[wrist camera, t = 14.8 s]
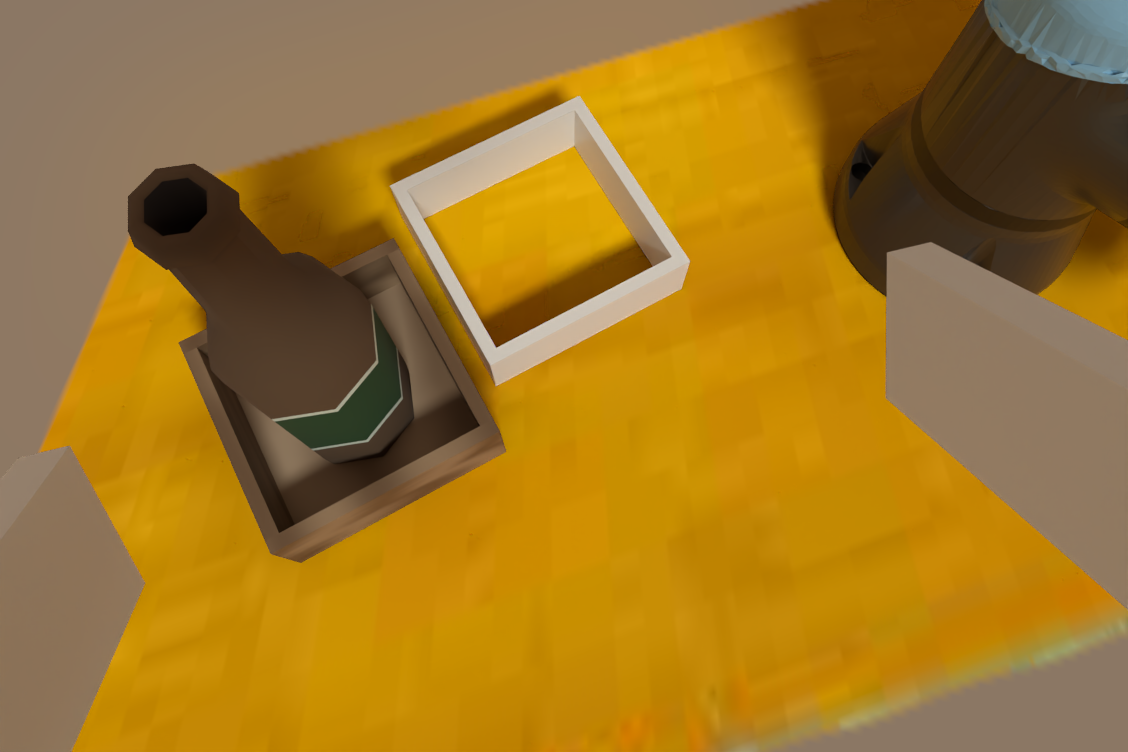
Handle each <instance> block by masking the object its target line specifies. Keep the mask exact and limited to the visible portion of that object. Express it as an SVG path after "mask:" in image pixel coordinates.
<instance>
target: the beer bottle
mask: <svg viewBox="0 0 1128 752" xmlns="http://www.w3.org/2000/svg"><path fill="white" fill-rule="evenodd" d="M128 232H129V234H130V237H131V239H132V242H133V244H134V247H136V248H137V249H138V250H140V251H141V252H143V253H144V254H145V255H147V256H148V257H149V258H151V259H152V260H153V261H155V262H156V263H158V264H159V265H160V266H162V267H163V268H164V269H166V270H167V269H169V270H170V271H171V272H172V273H173V275H174V276H175V277H176V278H177V279H178V280H179V281H180V282H181V284H182V285H183V286H184V287H185V288H186V289H187V290H188V291H189V293H190V294H191V295H192V296H193V297H194V298H195V299H196V301H197V302H198V303H199V304H200V305H201V306H202V307H203V308H204V310H205V311H206V315H207V349H208V357H209V362H210V368H211V371H212V372H213V373H214V374H215V375H216V376H217V377H218V378H219V379H220V380H221V381H222V382H223V383H224V384H225V385H227V386H228V387H229V388H231V389H232V390H233V391H235V392H236V393H237V394H239V395H240V396H241V397H242V398H244V399H245V400H246V401H248V402H249V403H250V404H252V405H253V406H254V407H256V408H257V409H258V410H260V411H261V412H262V413H264V414H265V415H266V416H268V417H269V418H270V419H272V420H273V421H274V422H276V423H277V424H278V425H280V426H281V427H282V428H284V429H285V430H286V431H288V432H289V433H290V434H292V435H293V436H294V437H296V438H297V439H298V440H300V441H301V442H302V443H304V444H305V445H306V446H308V447H309V448H311V449H312V450H313V451H315V452H316V453H317V454H319V455H320V456H321V457H323V458H324V459H325V460H327V461H329V462H331V463H333V464H340V463H346V462H352V461H358V460H365V459H371V458H377V457H383V456H384V455H385V454H386V453H387V452H388V450H389V449H390V448H391V447H392V445H393V444H394V443H395V442H396V440H397V439H398V438H399V437H400V435H401V434H402V433H403V432H404V430H405V429H406V428H407V427H408V425H409V424H410V423H411V422H412V420H413V419H414V410H413V401H412V392H411V383H410V374H409V370H408V368H407V365H406V363H405V361H404V359H403V357H402V356H401V354H400V352H399V351H398V349H397V347H396V345H395V344H394V342H393V340H392V339H391V337H390V335H389V333H388V332H387V330H386V328H385V327H384V325H383V323H382V321H381V320H380V318H379V316H378V315H377V313H376V311H375V310H374V308H373V306H372V304H371V303H370V302H369V300H368V299H367V298H366V297H365V296H364V294H363V293H362V292H361V291H360V290H359V289H358V288H357V287H355V286H354V285H352V284H351V283H349V282H348V281H347V280H345V279H344V278H342V277H341V276H339V275H338V274H336V273H335V272H334V271H332V270H331V269H329V268H328V267H326V266H325V265H324V264H322V263H321V262H319V261H318V260H316V259H315V258H314V257H312V256H309V255H306V254H303V253H300V252H295V253H289V254H281V253H280V252H279V251H278V250H277V249H276V248H275V247H274V246H273V245H272V244H271V242H270V241H269V240H268V239H267V238H266V237H265V236H264V235H263V234H262V233H261V232H260V231H259V229H258V228H257V227H256V226H255V225H254V224H253V223H252V222H251V221H250V220H249V219H248V218H247V216H246V215H245V214H244V213H243V212H242V211H241V210H240V206H239V193H238V192H236V191H235V190H234V189H232V188H231V187H229V186H228V185H226V184H225V183H223V182H222V181H221V180H219V179H218V178H216V177H215V176H213V175H212V174H210V173H209V172H208V171H206V170H204V169H203V168H201V167H199V166H197V165H196V164H188V165H181V166H173V167H166V168H160V169H155V170H154V171H153V172H152V173H151V174H150V175H149V176H148V177H147V178H146V179H145V180H144V181H143V182H142V183H141V184H140V185H139V186H138V187H137V188H136V189H135V190H134V191H133V192H132V193H131V194H130V195H129V196H128Z"/></svg>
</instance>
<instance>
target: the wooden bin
mask: <svg viewBox="0 0 1128 752" xmlns="http://www.w3.org/2000/svg"><path fill="white" fill-rule="evenodd" d="M331 270H332V271H334V272H335V273H336V274H338V275H339V276H341V277H342V278H344V279H345V280H347V281H348V282H349V283H351V284H352V285H354V286H355V287H357V288H358V289H359V290H360V291H361V292H362V293H363V294H364V296H365V297H366V298H367V299H368V300H369V302H370V303H371V304H372V306H373V308H374V310H375V311H376V313H377V315H378V316H379V318H380V320H381V321H382V323H383V325H384V327H385V328H386V330H387V332H388V333H389V335H390V337H391V339H392V340H393V342H394V344H395V345H396V347H397V349H398V351H399V352H400V354H401V356H402V357H403V359H404V361H405V363H406V365H407V368H408V370H409V374H410V383H411V392H412V401H413V410H414V419H413V420H412V422H411V423H410V424H409V425H408V427H407V428H406V429H405V430H404V432H403V433H402V434H401V435H400V437H399V438H398V439H397V440H396V442H395V443H394V444H393V445H392V447H391V448H390V449H389V450H388V452H387V453H386V454H385V455H384V456H383V457H377V458H371V459H365V460H358V461H352V462H346V463H340V464H333V463H331V462H329V461H327V460H325V459H324V458H323V457H321V456H320V455H319V454H317V453H316V452H315V451H313V450H312V449H311V448H309V447H308V446H306V445H305V444H304V443H302V442H301V441H300V440H298V439H297V438H296V437H294V436H293V435H292V434H290V433H289V432H288V431H286V430H285V429H284V428H282V427H281V426H280V425H278V424H277V423H276V422H274V421H273V420H272V419H270V418H269V417H268V416H266V415H265V414H264V413H262V412H261V411H260V410H258V409H257V408H256V407H254V406H253V405H252V404H250V403H249V402H248V401H246V400H245V399H244V398H242V397H241V396H240V395H239V394H237V393H236V392H235V391H233V390H232V389H231V388H229V387H228V386H227V385H225V384H224V383H223V382H222V381H221V380H220V379H219V378H218V377H217V376H216V375H215V374H214V373H213V372H212V371H211V368H210V362H209V357H208V349H207V329H205V330H203V331H201V332H199V333H197V334H195V335H193V336H191V337H189V338H187V339H185V340H183V341H181V342H179V345H180V347H181V349H182V351H183V354H184V356H185V358H186V361H187V363H188V365H189V367H190V370H191V372H192V374H193V377H194V379H195V381H196V383H197V386H198V388H199V390H200V393H201V395H202V397H203V400H204V402H205V404H206V406H207V409H208V411H209V413H210V416H211V418H212V420H213V422H214V425H215V427H216V429H217V432H218V434H219V436H220V439H221V441H222V443H223V445H224V448H225V450H226V452H227V455H228V457H229V459H230V461H231V464H232V466H233V468H234V471H235V473H236V475H237V477H238V480H239V482H240V484H241V487H242V489H243V491H244V494H245V496H246V498H247V500H248V503H249V505H250V507H251V510H252V512H253V514H254V516H255V519H256V521H257V523H258V526H259V528H260V530H261V533H262V535H263V537H264V539H265V542H266V544H267V546H268V549H269V551H270V553H271V554H272V555H276V556H279V557H283V558H286V559H290V560H293V561H297V562H300V563H301V562H303V561H305V560H307V559H308V558H310V557H312V556H314V555H316V554H318V553H320V552H321V551H323V550H325V549H327V548H329V547H331V546H332V545H334V544H336V543H338V542H340V541H342V540H344V539H345V538H347V537H349V536H351V535H353V534H355V533H357V532H358V531H360V530H362V529H364V528H366V527H368V526H369V525H371V524H373V523H375V522H377V521H379V520H381V519H382V518H384V517H386V516H388V515H390V514H392V513H394V512H395V511H397V510H399V509H401V508H403V507H405V506H406V505H408V504H410V503H412V502H414V501H416V500H418V499H419V498H421V497H423V496H425V495H427V494H429V493H431V492H432V491H434V490H436V489H438V488H440V487H442V486H443V485H445V484H447V483H449V482H451V481H453V480H455V479H456V478H458V477H460V476H462V475H464V474H466V473H468V472H469V471H471V470H473V469H475V468H477V467H479V466H480V465H482V464H484V463H486V462H488V461H490V460H492V459H493V458H495V457H497V456H499V455H501V454H503V453H505V452H506V449H505V446H504V443H503V440H502V437H501V434H500V431H499V429H498V427H497V426H496V424H495V422H494V420H493V418H492V416H491V415H490V413H489V411H488V409H487V407H486V406H485V404H484V402H483V400H482V398H481V396H480V395H479V393H478V391H477V389H476V387H475V386H474V384H473V382H472V380H471V378H470V376H469V375H468V373H467V371H466V369H465V367H464V365H463V364H462V362H461V360H460V358H459V356H458V355H457V353H456V351H455V349H454V347H453V345H452V344H451V342H450V340H449V338H448V336H447V334H446V333H445V331H444V329H443V327H442V325H441V324H440V322H439V320H438V318H437V316H436V314H435V313H434V311H433V309H432V307H431V305H430V303H429V302H428V300H427V298H426V296H425V294H424V293H423V291H422V289H421V287H420V285H419V283H418V282H417V280H416V278H415V276H414V274H413V272H412V271H411V269H410V267H409V265H408V263H407V262H406V260H405V258H404V256H403V254H402V252H401V251H400V249H399V247H398V245H397V243H396V241H395V240H394V238H393V239H391V240H389V241H387V242H385V243H383V244H380V245H378V246H376V247H374V248H372V249H370V250H368V251H366V252H364V253H362V254H360V255H358V256H356V257H354V258H352V259H350V260H348V261H345V262H343V263H341V264H339V265H337V266H335V267H333V268H331Z"/></svg>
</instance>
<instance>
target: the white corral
mask: <svg viewBox="0 0 1128 752" xmlns="http://www.w3.org/2000/svg"><path fill="white" fill-rule="evenodd" d="M573 146H575V148H576V150H577V151H578V153H579V154H580V156H581V157H582V159H583V160H584V162H585V163H586V165H587V166H588V168H589V170H590V171H591V173H592V174H593V176H594V177H595V179H596V180H597V182H598V183H599V185H600V186H601V188H602V189H603V191H604V193H605V194H606V196H607V197H608V199H609V200H610V202H611V203H612V205H613V206H614V208H615V209H616V211H617V212H618V214H619V216H620V217H621V219H622V220H623V222H624V223H625V225H626V226H627V228H628V229H629V231H630V232H631V234H632V235H633V237H634V239H635V240H636V242H637V243H638V245H639V246H640V248H641V249H642V251H643V252H644V254H645V255H646V257H647V258H648V260H649V262H650V263H651V265H652V266H653V267H651V268H649V269H647V270H646V271H644V272H642V273H640V274H638V275H636V276H634V277H632V278H630V279H628V280H626V281H624V282H622V283H620V284H618V285H617V286H615V287H613V288H611V289H609V290H607V291H605V292H603V293H601V294H599V295H597V296H595V297H593V298H591V299H590V300H588V301H586V302H584V303H582V304H580V305H578V306H576V307H574V308H572V309H570V310H568V311H566V312H564V313H563V314H561V315H559V316H557V317H555V318H553V319H551V320H549V321H547V322H545V323H543V324H541V325H539V326H537V327H536V328H534V329H532V330H530V331H528V332H526V333H524V334H522V335H520V336H518V337H516V338H514V339H512V340H510V341H508V342H507V343H505V344H503V345H501V346H499V347H497V348H496V347H495V345H494V343H493V341H492V340H491V338H490V336H489V334H488V333H487V331H486V329H485V327H484V326H483V324H482V322H481V320H480V318H479V317H478V315H477V313H476V311H475V310H474V308H473V306H472V304H471V303H470V301H469V299H468V297H467V295H466V294H465V292H464V290H463V288H462V287H461V285H460V283H459V281H458V280H457V278H456V276H455V274H454V272H453V271H452V269H451V267H450V265H449V264H448V262H447V260H446V258H445V257H444V255H443V253H442V251H441V250H440V248H439V246H438V244H437V242H436V241H435V239H434V237H433V235H432V234H431V232H430V230H429V228H428V227H427V225H426V223H425V221H424V218H426V217H428V216H431V215H433V214H435V213H437V212H439V211H441V210H443V209H445V208H447V207H449V206H451V205H453V204H455V203H457V202H459V201H461V200H464V199H466V198H468V197H470V196H472V195H474V194H476V193H478V192H480V191H482V190H484V189H486V188H488V187H490V186H492V185H495V184H497V183H499V182H501V181H503V180H505V179H507V178H509V177H511V176H513V175H515V174H517V173H519V172H521V171H523V170H525V169H528V168H530V167H532V166H534V165H536V164H538V163H540V162H542V161H544V160H546V159H548V158H550V157H552V156H554V155H556V154H559V153H561V152H563V151H565V150H567V149H569V148H571V147H573ZM390 188H391V190H392V193H393V195H394V198H395V200H396V203H397V206H398V208H399V211H400V213H401V216H402V218H403V220H404V222H405V223H406V225H407V227H408V229H409V231H410V232H411V234H412V236H413V238H414V240H415V241H416V243H417V245H418V247H419V249H420V250H421V252H422V254H423V256H424V258H425V259H426V261H427V263H428V265H429V267H430V268H431V270H432V272H433V274H434V276H435V277H436V279H437V281H438V283H439V285H440V286H441V288H442V290H443V292H444V293H445V295H446V297H447V299H448V301H449V302H450V304H451V306H452V308H453V310H454V311H455V313H456V315H457V317H458V319H459V320H460V322H461V324H462V326H463V328H464V329H465V331H466V333H467V335H468V337H469V338H470V340H471V342H472V344H473V346H474V347H475V349H476V351H477V353H478V355H479V356H480V358H481V360H482V362H483V363H484V365H485V367H486V369H487V371H488V372H489V374H490V376H491V378H492V380H493V381H494V383H495V385H496V386H497V385H499V384H501V383H503V382H505V381H507V380H509V379H511V378H513V377H515V376H516V375H518V374H520V373H522V372H524V371H526V370H528V369H530V368H532V367H534V366H535V365H537V364H539V363H541V362H543V361H545V360H547V359H549V358H551V357H553V356H554V355H556V354H558V353H560V352H562V351H564V350H566V349H568V348H570V347H572V346H573V345H575V344H577V343H579V342H581V341H583V340H585V339H587V338H589V337H591V336H593V335H594V334H596V333H598V332H600V331H602V330H604V329H606V328H608V327H610V326H612V325H613V324H615V323H617V322H619V321H621V320H623V319H625V318H627V317H629V316H631V315H632V314H634V313H636V312H638V311H640V310H642V309H644V308H646V307H648V306H650V305H651V304H653V303H655V302H657V301H659V300H661V299H663V298H665V297H667V296H669V295H670V294H672V293H674V292H676V291H678V290H680V289H681V288H682V285H683V282H684V279H685V276H686V273H687V270H688V267H689V264H690V260H689V259H688V257H687V256H686V254H685V253H684V251H683V250H682V248H681V247H680V245H679V244H678V242H677V241H676V239H675V238H674V236H673V235H672V233H671V232H670V230H669V229H668V227H667V226H666V224H665V223H664V222H663V220H662V219H661V217H660V216H659V214H658V213H657V211H656V210H655V208H654V207H653V205H652V204H651V202H650V201H649V199H648V198H647V196H646V195H645V193H644V192H643V190H642V189H641V187H640V186H639V184H638V183H637V181H636V180H635V178H634V177H633V175H632V174H631V172H630V171H629V169H628V168H627V166H626V165H625V163H624V162H623V160H622V159H621V157H620V156H619V154H618V153H617V151H616V150H615V148H614V147H613V145H612V144H611V142H610V141H609V139H608V138H607V136H606V135H605V133H604V132H603V130H602V129H601V127H600V126H599V124H598V123H597V121H596V120H595V118H594V117H593V115H592V114H591V112H590V111H589V109H588V108H587V106H586V105H585V103H584V102H583V100H582V99H581V98H580V96H578V97H576V98H573V99H571V100H569V101H567V102H565V103H563V104H561V105H559V106H557V107H554V108H552V109H550V110H548V111H546V112H544V113H542V114H540V115H538V116H535V117H533V118H531V119H529V120H527V121H525V122H523V123H521V124H519V125H517V126H514V127H512V128H510V129H508V130H506V131H504V132H502V133H500V134H498V135H495V136H493V137H491V138H489V139H487V140H485V141H483V142H481V143H479V144H476V145H474V146H472V147H470V148H468V149H466V150H464V151H462V152H460V153H457V154H455V155H453V156H451V157H449V158H447V159H445V160H443V161H441V162H439V163H436V164H434V165H432V166H430V167H428V168H426V169H424V170H422V171H420V172H417V173H415V174H413V175H411V176H409V177H407V178H405V179H403V180H401V181H398V182H396V183H394V184H392V185H390Z"/></svg>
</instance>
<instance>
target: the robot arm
mask: <svg viewBox="0 0 1128 752" xmlns="http://www.w3.org/2000/svg"><path fill="white" fill-rule="evenodd" d="M833 208H834V219H835V224H836V229H837V232H838V235H839V238H840V241H841V243H842V245H843V248H844V250H845V252H846V253H847V255H848V257H849V258H850V260H851V261H852V263H853V264H854V266H855V267H856V268H857V270H858V271H859V272H860V273H861V274H862V276H863V277H864V278H865V279H866V280H867V281H868V282H869V283H870V284H871V285H873V286H874V287H875V288H876V289H877V290H878V291H880V292H881V293H883V294H884V295H885V296H887V307H886V399H888V400H889V401H890V402H891V403H892V404H893V405H894V406H896V407H897V408H898V409H899V410H900V411H901V412H902V413H904V414H905V415H906V416H907V417H908V418H909V419H910V420H912V421H913V422H914V423H915V424H916V425H917V426H919V427H920V428H921V429H922V430H923V431H924V432H925V433H927V434H928V435H929V436H930V437H931V438H932V439H933V440H935V441H936V442H937V443H938V444H939V445H940V446H941V447H943V448H944V449H945V450H946V451H947V452H948V453H949V454H951V455H952V456H953V457H954V458H955V459H956V460H957V461H959V462H960V463H961V464H962V465H963V466H964V467H965V468H967V469H968V470H969V471H970V472H971V473H972V474H973V475H975V476H976V477H977V478H978V479H979V480H980V481H981V482H983V483H984V484H985V485H986V486H987V487H988V488H989V489H991V490H992V491H993V492H994V493H995V494H996V495H997V496H999V497H1000V498H1001V499H1002V500H1003V501H1004V502H1005V503H1007V504H1008V505H1009V506H1010V507H1011V508H1012V509H1013V510H1015V511H1016V512H1017V513H1018V514H1019V515H1020V516H1021V517H1023V518H1024V519H1025V520H1026V521H1027V522H1028V523H1029V524H1031V525H1032V526H1033V527H1034V528H1035V529H1036V530H1037V531H1039V532H1040V533H1041V534H1042V535H1043V536H1044V537H1045V538H1047V539H1048V540H1049V541H1050V542H1051V543H1052V544H1053V545H1055V546H1056V547H1057V548H1058V549H1059V550H1060V551H1061V552H1063V553H1064V554H1065V555H1066V556H1067V557H1068V558H1069V559H1071V560H1072V561H1073V562H1074V563H1075V564H1076V565H1077V566H1079V567H1080V568H1081V569H1082V570H1083V571H1084V572H1085V573H1087V574H1088V575H1089V576H1090V577H1091V578H1092V579H1093V580H1095V581H1096V582H1097V583H1098V584H1099V585H1100V586H1101V587H1103V588H1104V589H1105V590H1106V591H1107V592H1108V593H1109V594H1111V595H1112V596H1113V597H1114V598H1115V599H1116V600H1117V601H1119V602H1120V603H1121V604H1122V605H1123V606H1124V607H1125V608H1127V609H1128V340H1126V339H1124V338H1122V337H1120V336H1118V335H1116V334H1114V333H1112V332H1110V331H1108V330H1106V329H1104V328H1102V327H1100V326H1098V325H1096V324H1094V323H1092V322H1090V321H1088V320H1086V319H1084V318H1082V317H1080V316H1078V315H1076V314H1074V313H1072V312H1070V311H1068V310H1066V309H1064V308H1062V307H1060V306H1058V305H1056V304H1054V303H1052V302H1050V301H1048V300H1046V299H1044V298H1042V297H1040V296H1038V294H1039V293H1040V292H1042V291H1043V290H1044V289H1046V288H1047V287H1048V286H1049V285H1051V284H1052V283H1053V282H1054V281H1055V280H1056V279H1057V278H1058V277H1059V275H1060V274H1061V273H1062V272H1063V271H1064V269H1065V268H1066V267H1067V265H1068V264H1069V262H1070V261H1071V259H1072V257H1073V255H1074V253H1075V251H1076V249H1077V247H1078V245H1079V243H1080V241H1081V239H1082V237H1083V235H1084V233H1085V231H1086V228H1087V226H1088V224H1089V222H1090V220H1091V218H1092V216H1093V214H1094V212H1095V210H1097V209H1098V210H1100V211H1101V212H1103V213H1104V214H1106V215H1107V216H1109V217H1111V218H1112V219H1114V220H1115V221H1117V222H1119V223H1120V224H1122V225H1123V226H1125V227H1126V228H1128V0H982V1H981V3H980V4H979V6H978V7H977V9H976V10H975V12H974V14H973V15H972V17H971V18H970V20H969V21H968V23H967V24H966V26H965V28H964V29H963V31H962V32H961V34H960V35H959V37H958V38H957V40H956V41H955V43H954V44H953V46H952V47H951V49H950V50H949V52H948V53H947V55H946V56H945V58H944V59H943V61H942V62H941V64H940V65H939V67H938V68H937V70H936V71H935V73H934V74H933V76H932V77H931V79H930V81H929V83H928V84H927V86H926V87H925V89H924V90H923V91H922V92H921V93H919V94H918V95H916V96H915V97H913V98H912V99H910V100H909V101H907V102H906V103H905V104H903V105H902V106H900V107H899V108H897V109H896V110H894V111H893V112H891V113H890V114H888V115H887V116H885V117H884V118H882V119H881V120H879V121H878V122H877V123H876V124H874V125H873V126H872V127H871V128H870V129H869V130H868V131H867V132H866V133H865V134H864V135H863V137H862V138H861V139H860V140H859V142H858V143H857V144H856V146H855V147H854V149H853V151H852V152H851V154H850V156H849V157H848V159H847V161H846V163H845V164H844V166H843V168H842V170H841V172H840V175H839V177H838V180H837V183H836V187H835V192H834V205H833ZM144 584H145V582H144V580H143V579H142V577H141V575H140V573H139V571H138V569H137V568H136V566H135V564H134V562H133V560H132V559H131V557H130V555H129V553H128V551H127V549H126V548H125V546H124V544H123V542H122V540H121V538H120V537H119V535H118V533H117V531H116V529H115V528H114V526H113V524H112V522H111V520H110V518H109V517H108V515H107V513H106V511H105V509H104V507H103V506H102V504H101V502H100V500H99V498H98V497H97V495H96V493H95V491H94V489H93V487H92V486H91V484H90V482H89V480H88V478H87V476H86V475H85V473H84V471H83V469H82V467H81V466H80V464H79V462H78V460H77V458H76V456H75V455H74V453H73V451H72V449H71V447H70V446H66V447H62V448H58V449H54V450H49V451H45V452H41V453H37V454H33V455H29V456H24V457H20V458H18V459H17V460H16V461H15V462H14V464H13V465H12V466H11V467H10V468H9V470H8V471H7V472H6V473H5V474H4V476H3V477H2V478H1V479H0V752H71V751H72V749H73V746H74V744H75V742H76V740H77V737H78V735H79V733H80V730H81V728H82V726H83V724H84V721H85V719H86V717H87V714H88V712H89V710H90V708H91V705H92V703H93V701H94V699H95V696H96V694H97V692H98V689H99V687H100V685H101V683H102V680H103V678H104V676H105V673H106V671H107V669H108V667H109V664H110V662H111V660H112V657H113V655H114V653H115V651H116V648H117V646H118V644H119V641H120V639H121V637H122V635H123V632H124V630H125V628H126V625H127V623H128V621H129V619H130V616H131V614H132V612H133V610H134V607H135V605H136V603H137V600H138V598H139V596H140V594H141V591H142V589H143V587H144Z"/></svg>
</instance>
